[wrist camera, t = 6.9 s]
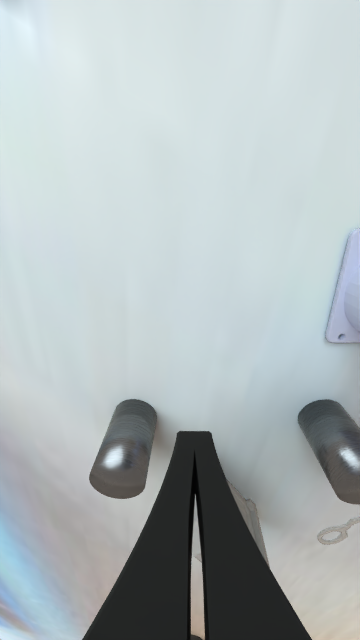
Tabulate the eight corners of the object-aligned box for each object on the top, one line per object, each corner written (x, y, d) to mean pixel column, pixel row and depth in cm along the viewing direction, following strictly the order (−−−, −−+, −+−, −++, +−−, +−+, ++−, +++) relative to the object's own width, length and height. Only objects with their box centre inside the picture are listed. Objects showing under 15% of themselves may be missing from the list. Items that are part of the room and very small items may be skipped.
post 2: (349, 399, 20) (408, 467, 15) (338, 432, 22) (388, 505, 16) (302, 399, 20) (343, 466, 15) (294, 432, 22) (329, 503, 16)
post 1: (154, 399, 21) (142, 463, 16) (158, 431, 23) (147, 499, 17) (111, 399, 21) (84, 462, 16) (117, 430, 23) (94, 498, 17)
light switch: (242, 508, 27) (260, 612, 20) (184, 448, 24) (182, 548, 16) (255, 504, 27) (279, 608, 20) (199, 441, 23) (203, 542, 16)
